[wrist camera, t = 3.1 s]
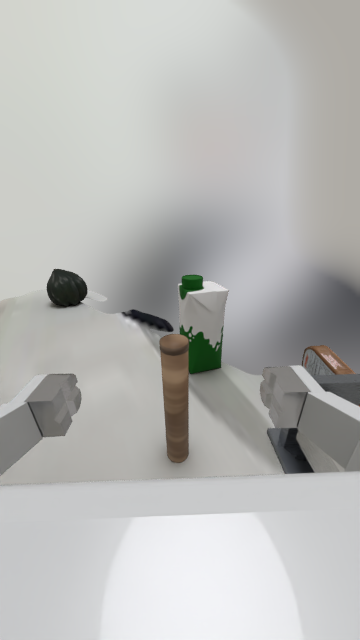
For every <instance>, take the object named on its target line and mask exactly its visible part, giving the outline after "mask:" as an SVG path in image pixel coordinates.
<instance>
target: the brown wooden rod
mask: <svg viewBox="0 0 360 640" xmlns="http://www.w3.org/2000/svg"><path fill="white" fill-rule="evenodd" d="M188 349H189V339H188V338H187V337H186V336H184V335H180V334H170V335H166V336H164V337H162V338H161V339H160V350H161V365H162V380H163V396H164V411H165V426H166V442H167V455H168V457H169V459H170V460H171V461H173V462H176V463H180V462H183V461H184V460H185V459H186V458H187V456H188Z"/></svg>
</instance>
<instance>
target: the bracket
mask: <svg viewBox="0 0 360 640" xmlns="http://www.w3.org/2000/svg"><path fill="white" fill-rule="evenodd" d="M311 376H312V377H313V379H314V380H315V381H316V382H317V383H318V384H319V385H320V386H321V387H322V388H323V390H324V391H325V392H331V393H333V394H335V395H337V396H339V397H341V398H343V399H345V400H347V401H349V402H351V403H353V404H355V405H357V406H359V404H360V374H338V375H311ZM267 433H268V436H269V438H270V440H271V442H272V445H273V447H274V449H275V451H276V454H277V456H278V458H279V461H280V463H281V465H282V467H283V470H284V472H285V474H297V473H322V472H344V471H345V469H344V468H343V467H342V466H340V465H339V464H338V463H337V462H336V461H335V460H333V459H332V458H331V457H330V456H329V455H327V454H326V453H325V452H324V451H323V450H322V449H320V448H319V447H318V446H317V445H316V444H314V443H313V442H312V441H311V440H310V439H308V438H307V437H306V436H305V435H304V434H303V433H301V432H300V431H299V430H298V429H297V428H270V429H268V430H267Z"/></svg>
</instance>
